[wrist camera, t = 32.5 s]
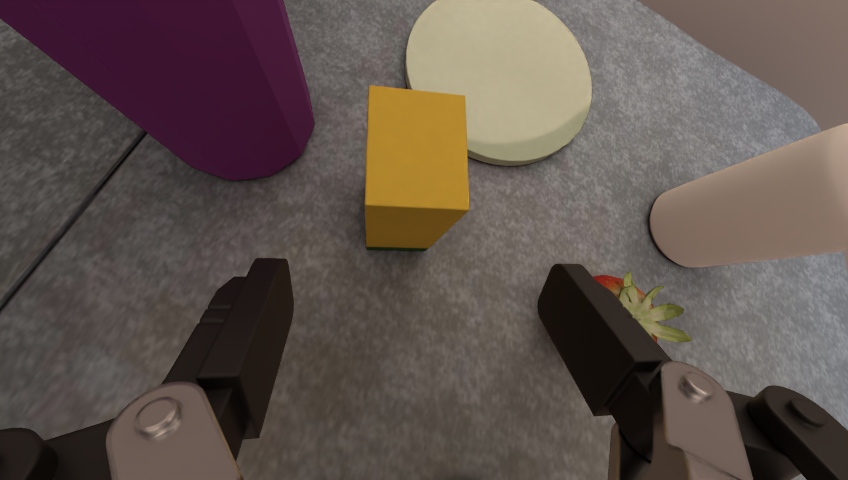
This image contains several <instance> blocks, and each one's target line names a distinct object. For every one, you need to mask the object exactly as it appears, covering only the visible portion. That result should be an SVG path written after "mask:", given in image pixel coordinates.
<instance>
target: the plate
mask: <svg viewBox="0 0 848 480" xmlns="http://www.w3.org/2000/svg"><path fill="white" fill-rule="evenodd" d="M405 77H406V83H407V87H408V89H409V90H419V91H428V92H438V93H447V94H457V95H465V97H466V126H467V156H468V157H470V158H473V159H476V160H479V161H482V162H486V163H490V164H495V165H504V166H516V165H525V164H531V163H534V162H537V161H540V160H543V159H545V158H547V157H549V156H551V155H553V154H554V153H556V152H557V151H559V150H560V149H562V148H563V147H564V146H565V145H566V144H568V143H569V142H570V141H571V140H572V139H573V138H574V137H575V136H576V134H577V133H578V132H579V130H580V129H581V127H582V125H583V124H584V122H585V120H586V117H587V115H588V112H589V109H590V103H591V98H592V83H591V75H590V71H589V66H588V63H587V61H586V58H585V55H584V53H583V51H582V49H581V47H580V45H579V43H578V42H577V40H576V39H575V37H574V36H573V34H572V33H571V32H570V31H569V29H568V28H567V27H566V26H565V25H564V24H563V23H562V22H561V21H560V20H559V19H558V18H557V17H556V16H555V15H554V14H553V13H551V12H550V11H549V10H547V9H546V8H545V7H543V6H542V5H540V4H539V3H537V2H535V1H533V0H436V1H435V2H433V3H432V4H431V5H430V6H429V7H428V8H427V9H425V10H424V12H423V13H422V14H421V15H420V17H419V18H418V19H417V21H416V23H415V24H414V26H413V28H412V30H411V33H410V36H409V39H408V44H407V49H406V55H405Z"/></svg>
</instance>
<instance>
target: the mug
mask: <svg viewBox="0 0 848 480" xmlns="http://www.w3.org/2000/svg"><path fill="white" fill-rule="evenodd" d="M0 18H1V19H2V20H3V21H4V22H6V23H7V24H8V25H10V26H11V27H12V28H13V29H15V30H16V31H17V32H19V33H20V34H21V35H22V36H24V37H25V38H26V39H28V40H29V41H30V42H31V43H33V44H34V45H35V46H37V47H38V48H39V49H40V50H42V51H43V52H44V53H46V54H47V55H48V56H49V57H51V58H52V59H53V60H55V61H56V62H57V63H58V64H60V65H61V66H62V67H64V68H65V69H66V70H67V71H69V72H70V73H71V74H73V75H74V76H75V77H76V78H78V79H79V80H80V81H82V82H83V83H84V84H85V85H87V86H88V87H89V88H91V89H92V90H93V91H94V92H96V93H97V94H98V95H100V96H101V97H102V98H103V99H105V100H106V101H107V102H109V103H110V104H111V105H112V106H114V107H115V108H116V109H118V110H119V111H120V112H121V113H123V114H124V115H125V116H127V117H128V118H129V119H130V120H132V121H133V122H134V123H135V124H137V125H138V126H139V127H141V128H142V129H143V130H144V131H146V132H147V133H148V134H150V135H151V136H152V137H153V138H155V139H156V140H157V141H159V142H160V143H161V144H162V145H164V146H165V147H166V148H168V149H169V150H170V151H171V152H173V153H174V154H175V155H177V156H178V157H179V158H180V159H182V160H183V161H184V162H186V163H187V164H189V165H190V166H191V167H193V168H196V169H199V170H202V171H205V172H207V173H210V174H213V175H216V176H219V177H222V178H225V179H228V180H232V181H234V180H242V179H250V178H258V177H267V176H272V175H273V174H275V173H276V172H278V171H279V170H280V169H282V168H283V167H285V166H286V165H288V164H289V163H291V162H292V161H293V160H295V159H296V158H298V157H299V156H301V154H302V152H303V149H304V147H305V145H306V143H307V141H308V138H309V136H310V134H311V132H312V129H313V127H314V118H313V112H312V107H311V101H310V95H309V91H308V87H307V84H306V80H305V77H304V73H303V69H302V66H301V62H300V59H299V55H298V52H297V48H296V44H295V41H294V37H293V34H292V30H291V27H290V23H289V20H288V16H287V12H286V9H285V5H284V2H283V0H0Z"/></svg>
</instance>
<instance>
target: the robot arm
mask: <svg viewBox="0 0 848 480" xmlns="http://www.w3.org/2000/svg"><path fill="white" fill-rule="evenodd" d="M537 308H538V314H539V317H540V319H541V321H542V323H543V325H544V326H545V328H546V330H547V332H548V334H549V336H550V337H551V339H552V341H553V343H554V345H555V346H556V348H557V350H558V352H559V354H560V355H561V357H562V359H563V361H564V363H565V365H566V366H567V368H568V370H569V372H570V374H571V375H572V377H573V379H574V381H575V383H576V384H577V386H578V388H579V390H580V392H581V394H582V395H583V397H584V399H585V401H586V403H587V404H588V406H589V408H590V410H591V412H592V413H593V415H594V416H605V415H612V416H613V418H614V419H615V421H616V422H615V424H614V425H613V427H612V430H611V441H610V455H609V469H608V480H791V479H792V478H794V477H796V476H798V475H799V474H802V475H803V476H804V477H805V478H806V479H807V480H848V430H846V429H845V428H844V427H843V426H842V425H841V424H840V423H839V422H838V421H837V420H835V419H834V418H833V417H832V416H831V415H830V414H829V413H828V412H826V411H825V410H824V409H823V408H821V407H820V406H819V405H817V404H816V403H814V402H813V401H811V400H810V399H808V398H806V397H805V396H803V395H801V394H799V393H797V392H795V391H793V390H790V389H787V388H784V387H780V386H768V387H766V388H765V389H763V390H762V391H761V392H760V393H759V394H757V395H756V396H755V397H750V396H746V395H742V394H738V393H734V392H730V391H726V390H724V389H723V387H722V386H721V385H720V384H719V383H718V382H717V381H715V380H714V379H713V378H712V377H710V376H709V375H708V374H706V373H705V372H703V371H702V370H700V369H698V368H696V367H694V366H692V365H689V364H687V363H683V362H678V361H672V360H671V359H670V358H669V356H668V355H667V354H666V353H665V352H664V351H663V350H662V348H661V347H660V346H659V345H658V344H657V343H656V342H655V340H654V339H653V338H652V337H651V336H650V335H649V334H648V332H647V331H646V330H645V329H644V328H643V327H642V325H641V324H640V323H639V322H638V321H637V320H636V319H635V318H633V317H632V316H633V315H632V314H631V313H630V312H629V311H628V309H627V308H626V307H623V304H622V303H621V301H620V300H619V299H618V298H617V297H616V296H615V295H614V293H613V292H612V291H610V290H609V289H608V288H606V287H605V286H604V285H602V284H601V283H599V282H598V281H597V280H595V279H594V278H593V277H592V276H591V275H590V273H589V272H588V271H587V270H586V269H585V268H584V267H583V266H582V265H580V264H555V265H554V266H553V267H552V268H551V270H550V273H549V275H548V277H547V280H546V282H545V284H544V287H543V289H542V292H541V294H540V296H539V299H538V304H537ZM293 311H294V299H293V292H292V285H291V278H290V271H289V265H288V261H287V259H280V258H257V259H255V261H254V262H253V264H252V266H251V268H250V270H249V272H248V274H247V276H246V277H233V278H232V279H231V280H229V281H228V282H227V283H226V284H224V285H223V286H222V287H221V288H219V289H218V290H217V292H216V293H215V295H214V297H213V298H212V300H211V302H210V304H209V305H208V309H207V310H205V312H204V314H203V315H202V317H201V319H200V323H199V324H197V326H196V327H195V329H194V331H193V332H192V334H191V336H190V337H189V339H188V341H187V343H186V344H185V346H184V348H183V349H182V351H181V353H180V354H179V356H178V358H177V359H176V361H175V363H174V365H173V366H172V368H171V370H170V371H169V373H168V375H167V376H166V378H165V380H164V381H163V382H162V384H161V385H160V386H157V387H155V388H153V389H151V390H149V391H147V392H145V393H143V394H142V395H140V396H139V397H137V398H136V399H134V400H133V401H132V402H131V403H129V404H128V405H127V406H126V407H125V408H124V409H123V410H122V411H121V412H120V413H119V414H118V416H117V417H116V418H114V419H111V420H109V421H106V422H103V423H100V424H97V425H93V426H90V427H87V428H84V429H81V430H77V431H74V432H71V433H68V434H65V435H61V436H58V437H55V438H52V439H49V440H45V441H44V440H43V439H42V438H41V437H40V436H39V435H38V434H37V433H35V432H34V431H32V430H30V429H26V428H9V429H3V430H0V480H244V479H243V477H242V475H241V472H240V470H239V468H238V465H237V463H236V460H237V457H238V454H239V450H240V447H241V444H242V441H243V439H253V438H259V436H260V433H261V429H262V426H263V422H264V419H265V415H266V411H267V408H268V404H269V401H270V397H271V394H272V390H273V387H274V383H275V379H276V376H277V372H278V369H279V365H280V362H281V358H282V354H283V351H284V347H285V344H286V340H287V337H288V333H289V329H290V326H291V322H292V318H293Z"/></svg>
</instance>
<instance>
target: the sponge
mask: <svg viewBox="0 0 848 480" xmlns="http://www.w3.org/2000/svg"><path fill="white" fill-rule="evenodd" d="M468 210H469V189H468V158H467V126H466V97H465V95H457V94H447V93H438V92H428V91H419V90H409V89H400V88H391V87H381V86H372V85H370V86H369V91H368V120H367V150H366V179H365V225H366V248H367V250H397V251H426V250H427V249H428V248H429V247H430V246H431V245H432V244H433V243H434V242H436V241H437V240H438V239H439V238H440V237H441V236H442V235H443V234H444V233H445V232H446V231H447V230H448V229H449V228H450V227H451V226H452V225H454V224H455V223H456V222H457V221H458V220H459V219H460V218H461V217H462V216H463V215H464V214H465V213H466V212H467V211H468Z"/></svg>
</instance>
